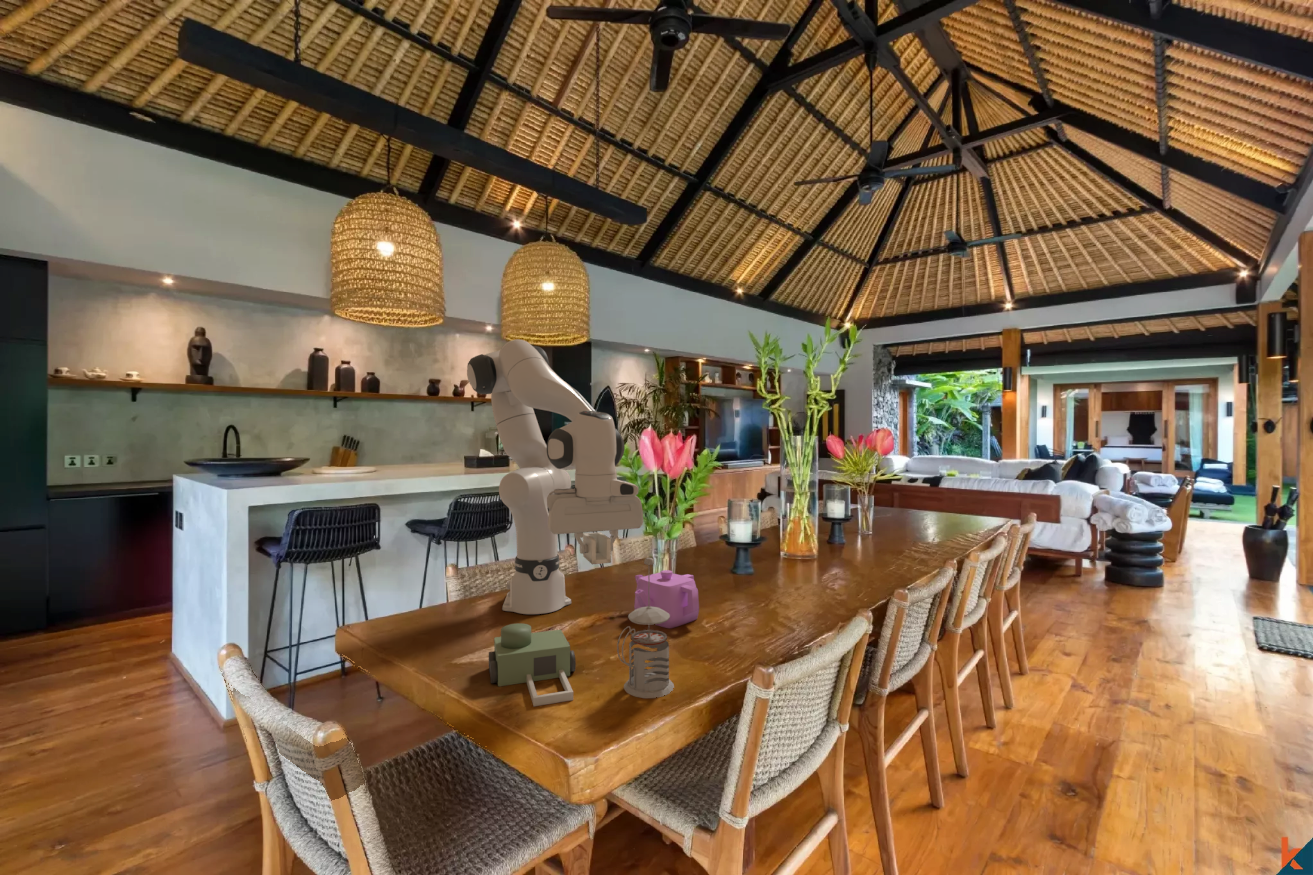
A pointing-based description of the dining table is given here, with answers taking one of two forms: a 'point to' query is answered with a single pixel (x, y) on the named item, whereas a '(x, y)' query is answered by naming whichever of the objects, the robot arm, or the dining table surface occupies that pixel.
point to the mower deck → (532, 660)
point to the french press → (648, 652)
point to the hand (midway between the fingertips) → (596, 551)
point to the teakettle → (669, 596)
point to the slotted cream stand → (597, 548)
